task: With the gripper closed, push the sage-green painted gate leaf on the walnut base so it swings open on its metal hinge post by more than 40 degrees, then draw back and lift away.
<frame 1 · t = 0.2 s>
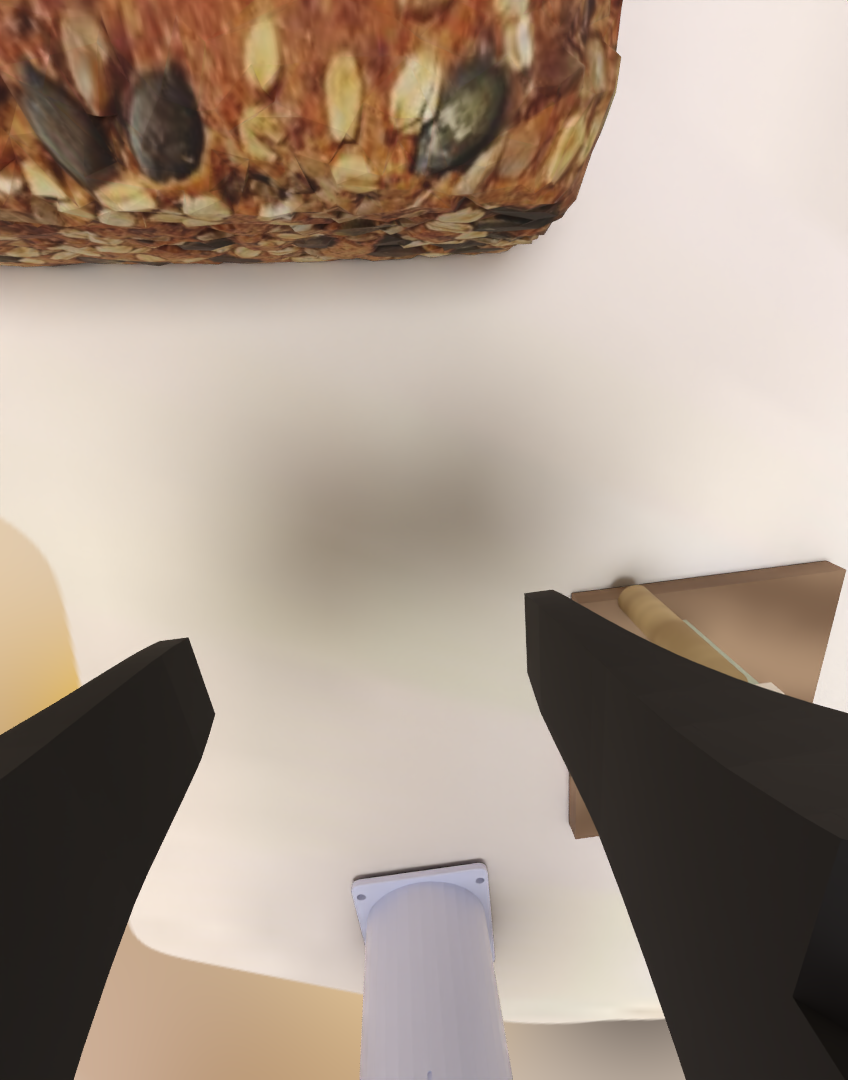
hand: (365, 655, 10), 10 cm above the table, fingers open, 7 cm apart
gate leaf: (696, 761, 20), point 4 cm above the table, hinge at 0.0°
bread: (224, 90, 14), on the table
gate frame: (638, 794, 26), on the table
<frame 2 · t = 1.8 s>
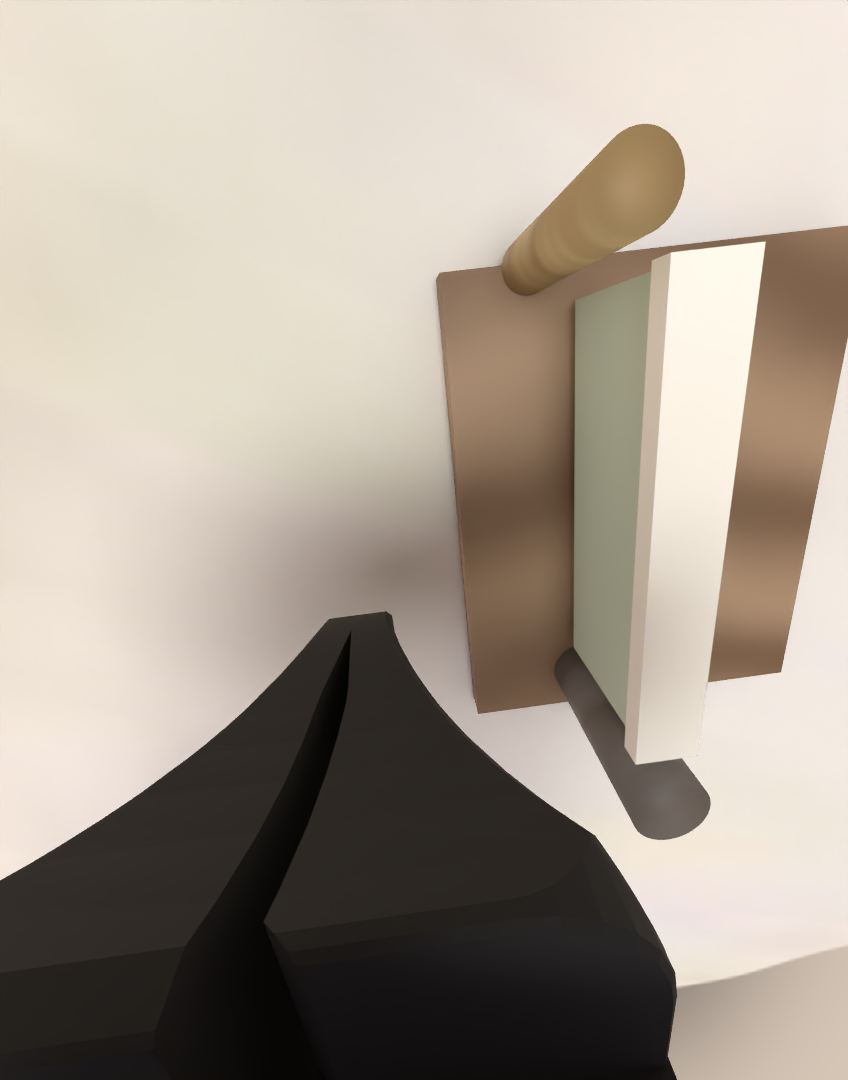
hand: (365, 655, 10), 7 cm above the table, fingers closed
gate leaf: (629, 520, 12), point 4 cm above the table, hinge at 0.0°
gate frame: (570, 652, 18), on the table
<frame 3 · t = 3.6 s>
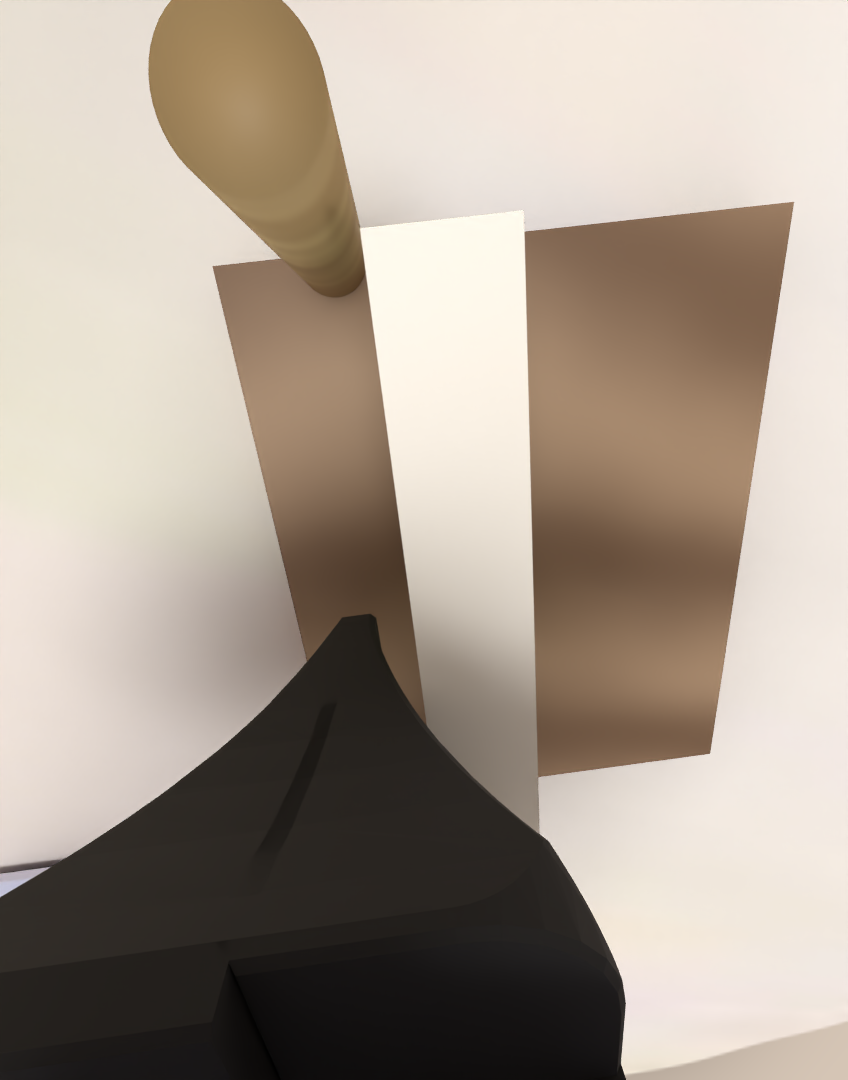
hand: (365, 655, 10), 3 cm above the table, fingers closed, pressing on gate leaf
gate leaf: (456, 603, 9), point 4 cm above the table, hinge at 0.0°, touching gripper
gate frame: (457, 727, 15), on the table
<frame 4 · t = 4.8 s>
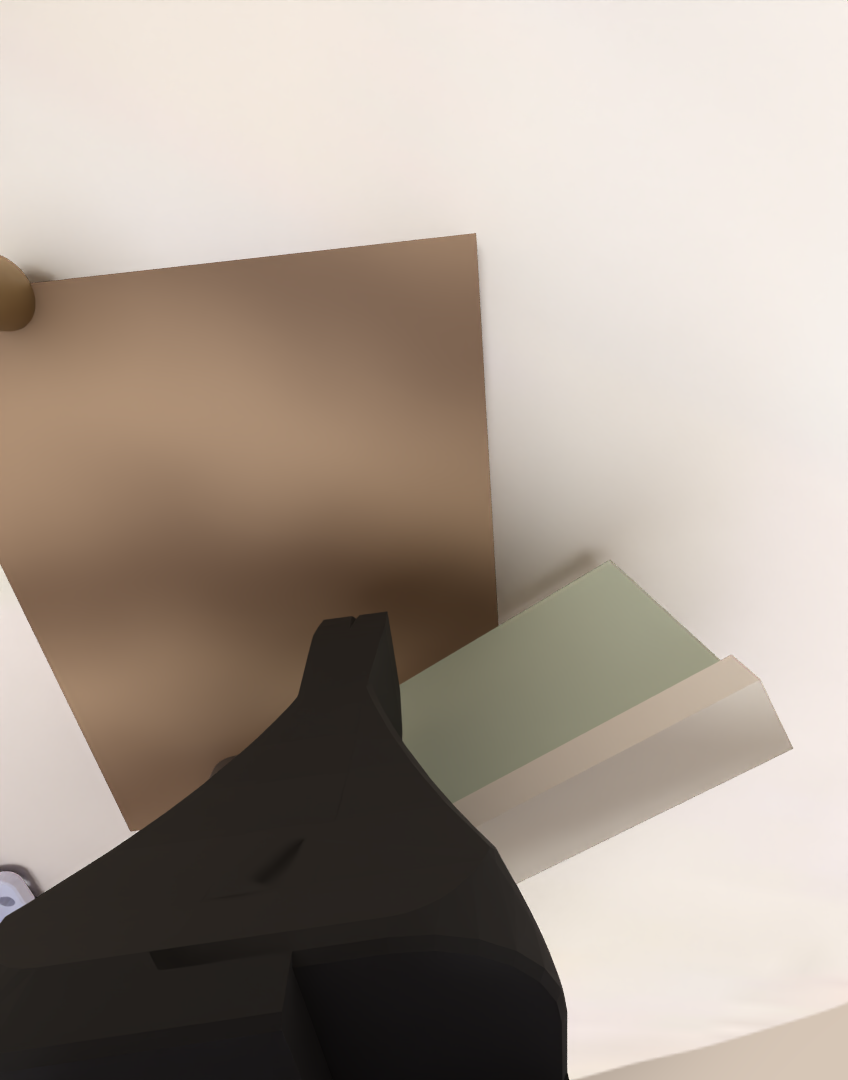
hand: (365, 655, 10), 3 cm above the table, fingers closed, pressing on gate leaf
gate leaf: (444, 756, 10), point 4 cm above the table, hinge at 62.4°, touching gripper
gate frame: (254, 754, 15), on the table
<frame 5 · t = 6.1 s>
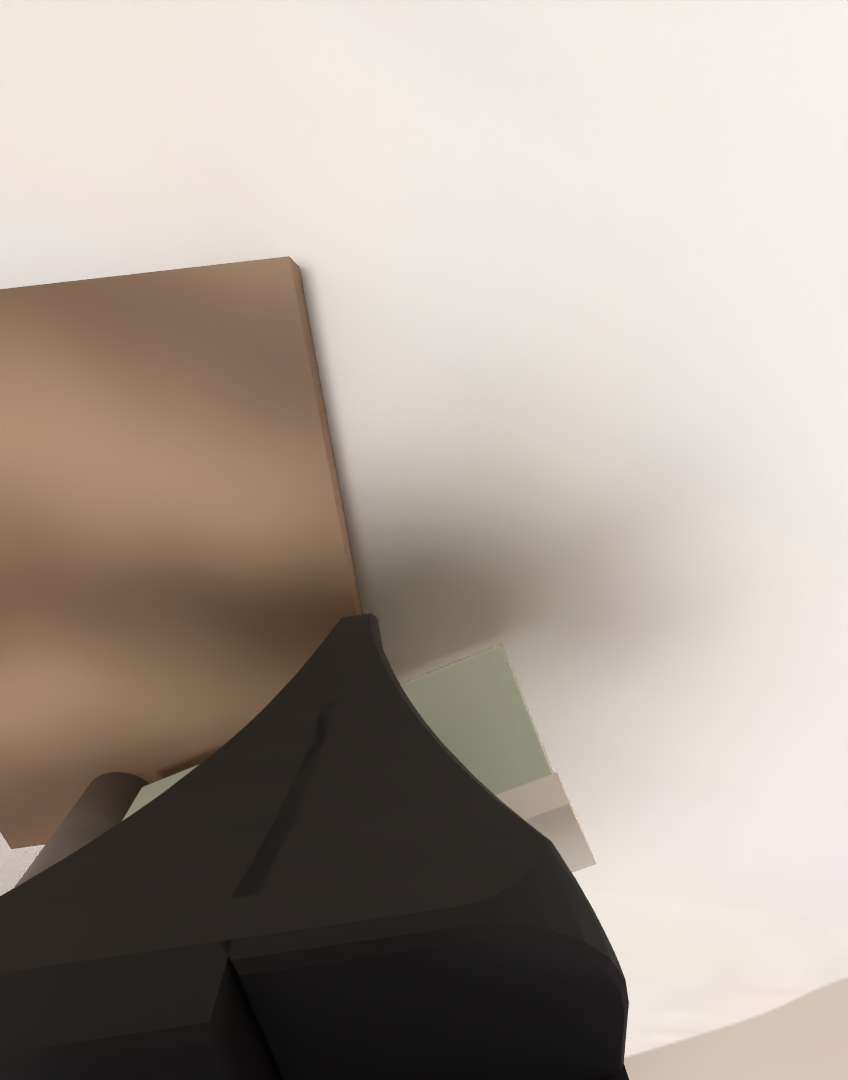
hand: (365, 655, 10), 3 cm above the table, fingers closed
gate leaf: (307, 812, 10), point 4 cm above the table, hinge at 72.9°, touching gripper
gate frame: (139, 769, 15), on the table
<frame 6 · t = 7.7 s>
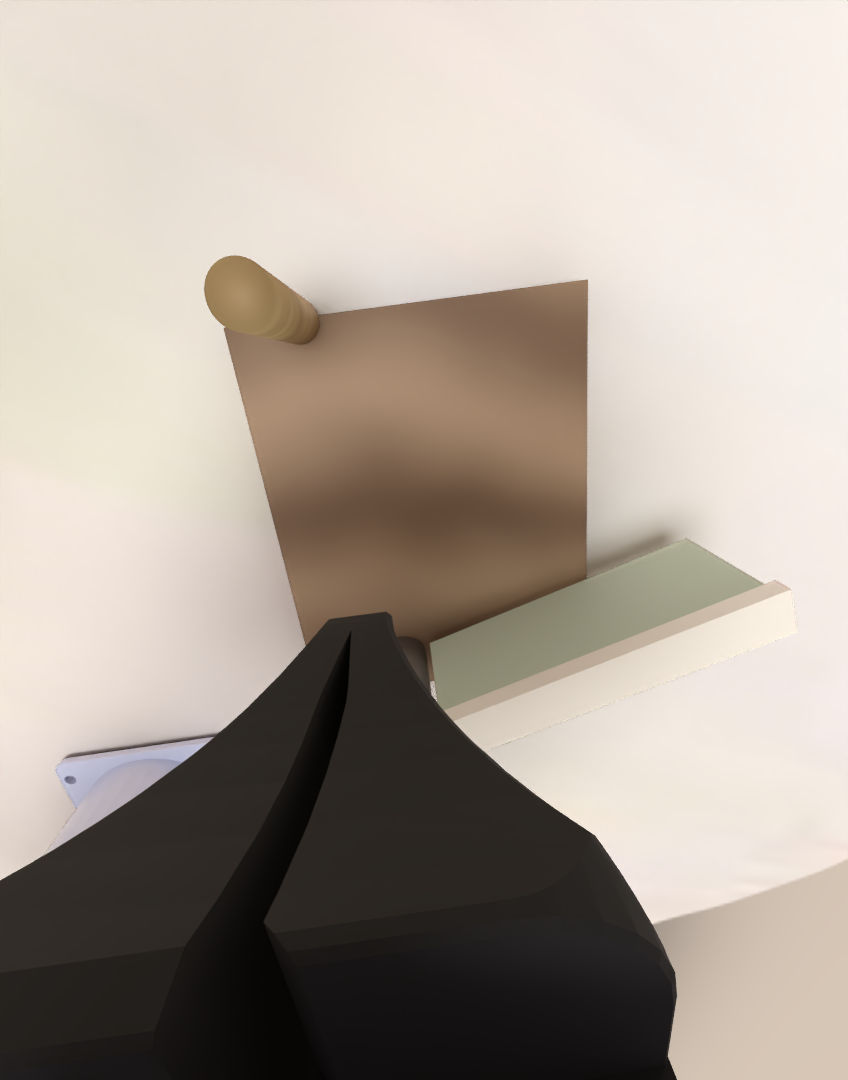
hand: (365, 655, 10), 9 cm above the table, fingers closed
gate leaf: (582, 635, 16), point 4 cm above the table, hinge at 73.5°
gate frame: (403, 643, 21), on the table
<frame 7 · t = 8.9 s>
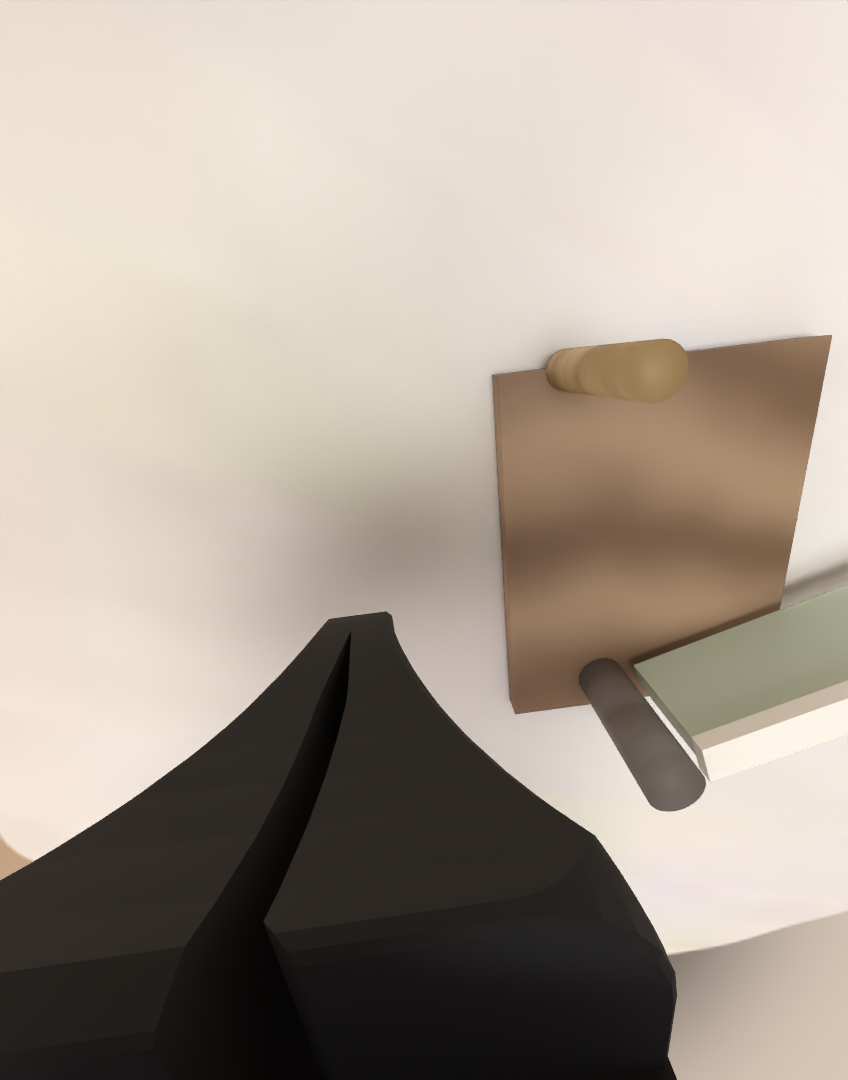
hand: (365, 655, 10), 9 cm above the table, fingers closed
gate leaf: (806, 662, 17), point 4 cm above the table, hinge at 73.5°
gate frame: (591, 663, 22), on the table
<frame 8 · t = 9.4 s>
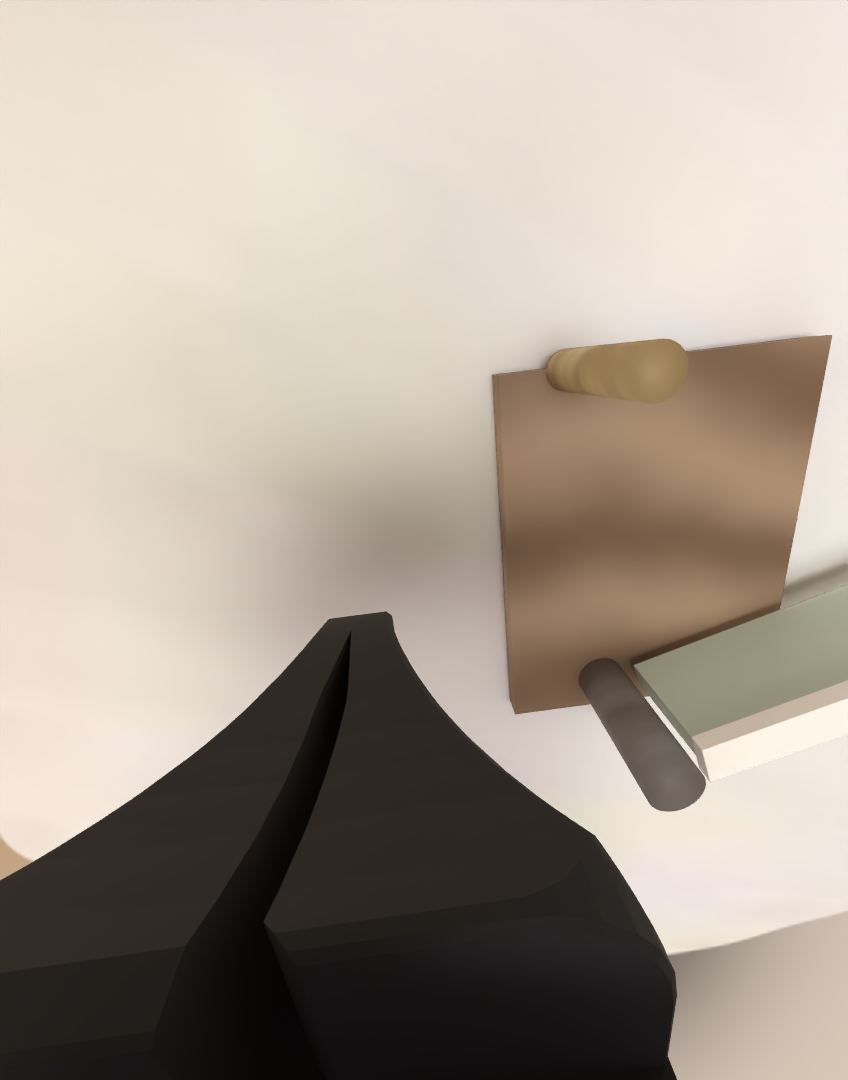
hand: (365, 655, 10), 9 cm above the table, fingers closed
gate leaf: (806, 662, 17), point 4 cm above the table, hinge at 73.5°
gate frame: (591, 663, 22), on the table
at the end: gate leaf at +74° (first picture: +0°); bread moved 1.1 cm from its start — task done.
